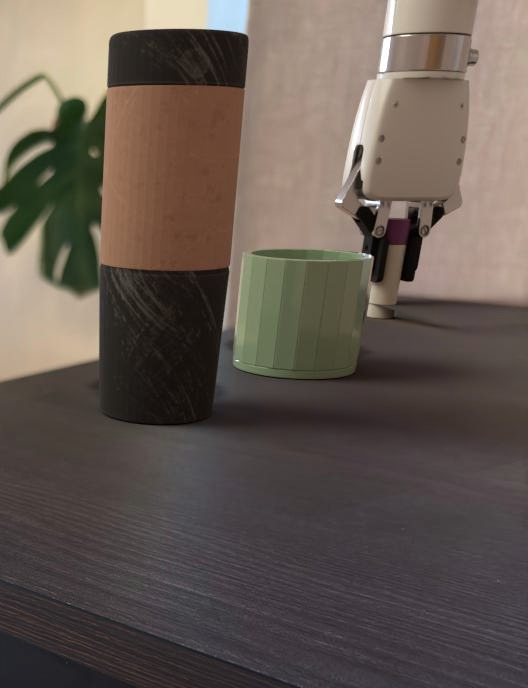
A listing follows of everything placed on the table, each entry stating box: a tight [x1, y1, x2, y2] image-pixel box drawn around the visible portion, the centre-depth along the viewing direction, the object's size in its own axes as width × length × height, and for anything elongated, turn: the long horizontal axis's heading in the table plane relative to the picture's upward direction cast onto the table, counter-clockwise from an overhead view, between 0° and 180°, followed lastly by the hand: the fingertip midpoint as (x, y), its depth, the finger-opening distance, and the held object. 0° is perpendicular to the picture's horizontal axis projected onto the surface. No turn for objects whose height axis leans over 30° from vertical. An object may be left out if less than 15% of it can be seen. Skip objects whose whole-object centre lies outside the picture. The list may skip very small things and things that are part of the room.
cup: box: [232, 247, 374, 380], centre depth 70 cm, size 9×9×8 cm
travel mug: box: [98, 28, 250, 425], centre depth 55 cm, size 8×8×20 cm
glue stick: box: [366, 217, 411, 320], centre depth 93 cm, size 3×3×9 cm
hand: (386, 278), depth 93 cm, fingers closed on glue stick, 2 cm apart
